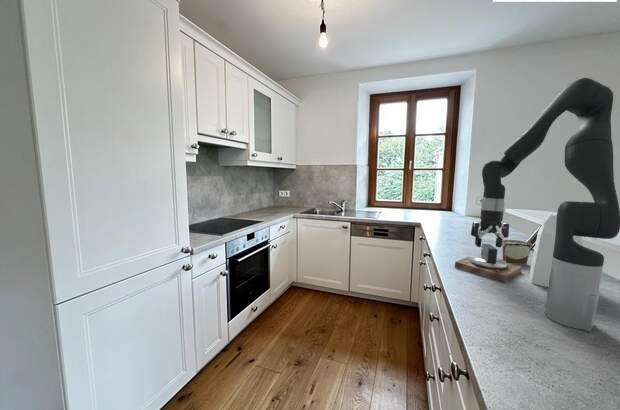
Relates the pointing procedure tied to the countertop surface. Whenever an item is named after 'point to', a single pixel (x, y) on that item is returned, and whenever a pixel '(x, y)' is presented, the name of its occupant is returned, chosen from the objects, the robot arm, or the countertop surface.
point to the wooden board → (489, 270)
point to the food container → (516, 251)
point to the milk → (545, 252)
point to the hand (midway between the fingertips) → (488, 246)
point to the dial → (488, 258)
